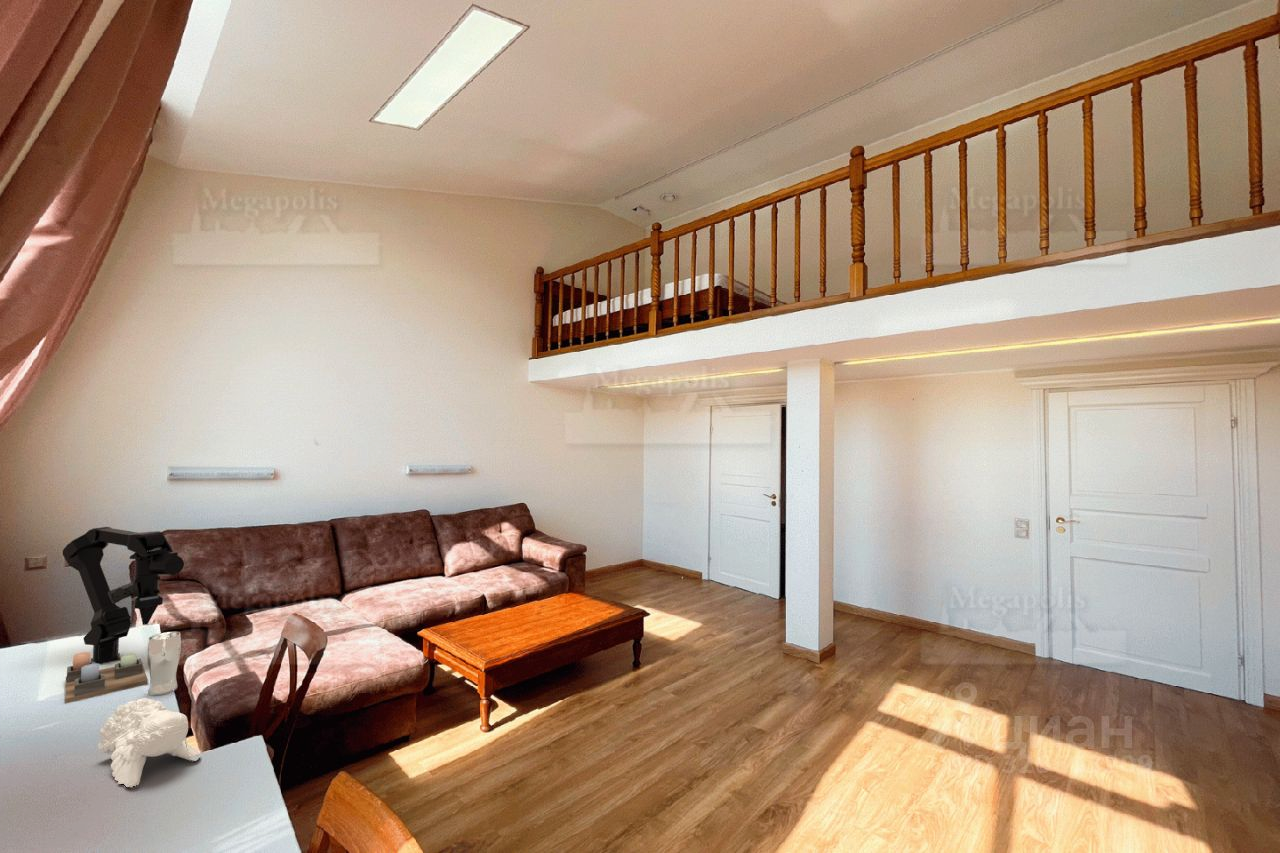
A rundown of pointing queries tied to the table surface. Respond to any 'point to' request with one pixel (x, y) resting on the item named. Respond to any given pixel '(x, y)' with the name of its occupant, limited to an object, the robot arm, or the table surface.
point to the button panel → (104, 681)
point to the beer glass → (163, 662)
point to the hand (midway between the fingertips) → (145, 624)
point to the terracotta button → (81, 660)
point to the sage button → (128, 660)
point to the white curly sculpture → (142, 737)
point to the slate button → (90, 673)
